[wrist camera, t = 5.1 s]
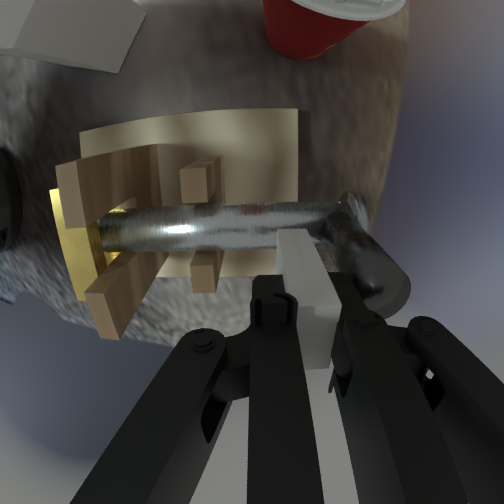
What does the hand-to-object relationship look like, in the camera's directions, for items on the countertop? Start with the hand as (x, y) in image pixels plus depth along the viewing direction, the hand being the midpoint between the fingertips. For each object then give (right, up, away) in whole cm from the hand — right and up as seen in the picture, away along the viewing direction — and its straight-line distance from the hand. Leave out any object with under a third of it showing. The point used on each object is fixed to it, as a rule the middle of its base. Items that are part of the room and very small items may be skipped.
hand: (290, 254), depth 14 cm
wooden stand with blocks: (-8, +5, +12) cm, 16 cm away
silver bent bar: (-4, +3, +6) cm, 7 cm away
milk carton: (-17, +22, +5) cm, 28 cm away
